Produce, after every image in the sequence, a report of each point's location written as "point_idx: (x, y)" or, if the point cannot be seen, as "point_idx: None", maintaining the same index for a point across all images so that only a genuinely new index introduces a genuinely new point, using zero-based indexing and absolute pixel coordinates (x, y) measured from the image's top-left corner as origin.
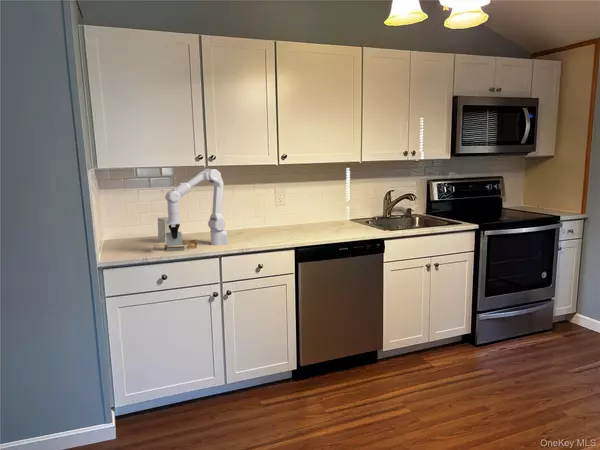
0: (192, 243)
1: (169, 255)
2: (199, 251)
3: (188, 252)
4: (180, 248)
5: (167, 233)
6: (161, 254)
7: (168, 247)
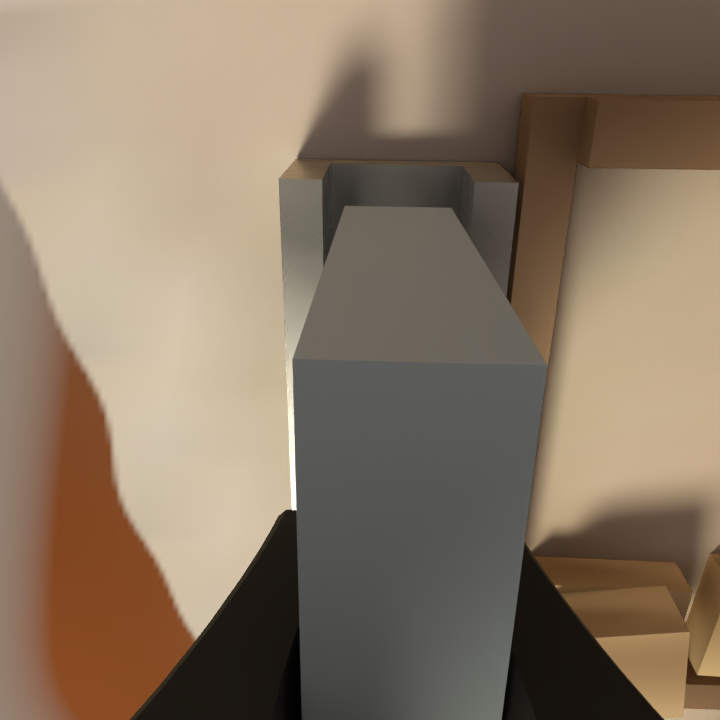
0: (666, 700)
1: (88, 228)
2: None
3: None
4: (294, 490)
5: (301, 457)
6: (221, 17)
7: (473, 213)
